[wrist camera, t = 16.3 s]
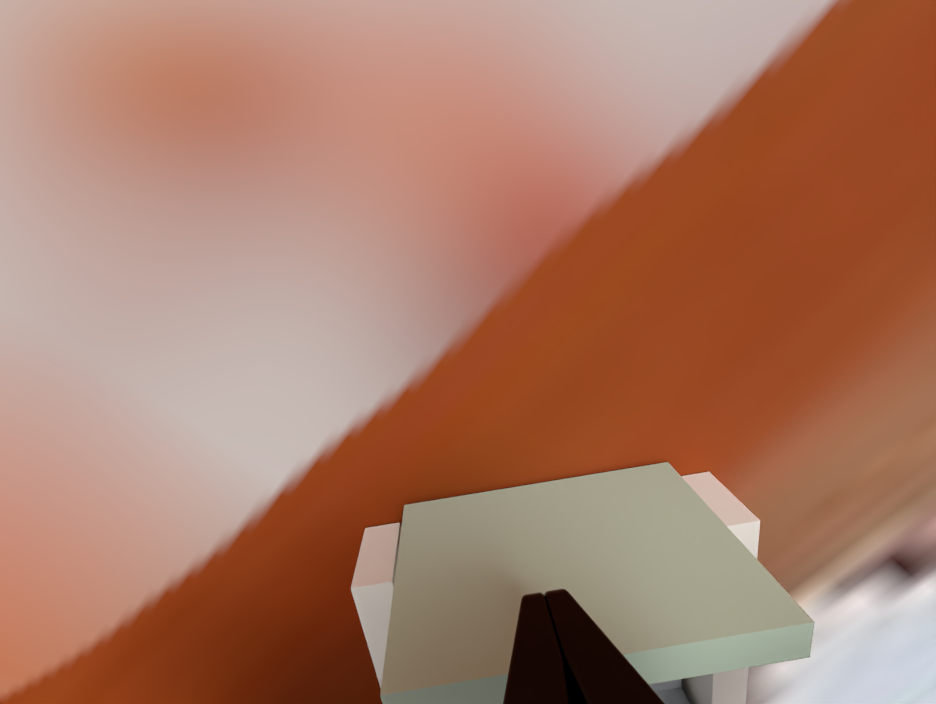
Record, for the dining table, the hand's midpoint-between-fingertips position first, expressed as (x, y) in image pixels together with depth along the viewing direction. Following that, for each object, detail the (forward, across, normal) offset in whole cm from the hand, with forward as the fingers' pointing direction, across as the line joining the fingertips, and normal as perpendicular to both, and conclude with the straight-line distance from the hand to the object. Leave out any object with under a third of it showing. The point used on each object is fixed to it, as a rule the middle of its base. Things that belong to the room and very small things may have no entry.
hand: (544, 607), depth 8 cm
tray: (+6, -1, +11) cm, 13 cm away
